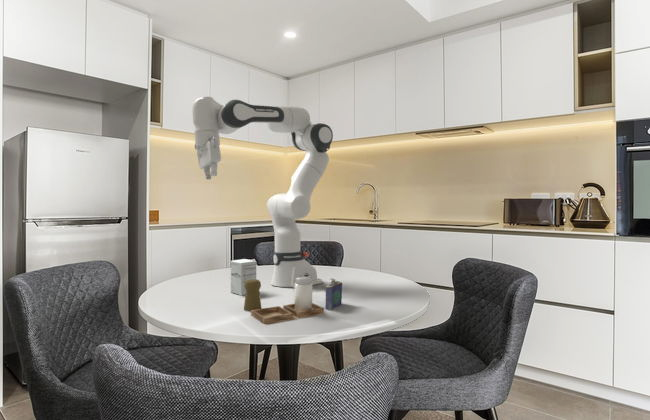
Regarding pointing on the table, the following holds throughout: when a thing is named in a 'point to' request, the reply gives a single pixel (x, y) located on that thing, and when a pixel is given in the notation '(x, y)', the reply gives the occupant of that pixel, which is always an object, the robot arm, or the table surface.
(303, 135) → the robot arm
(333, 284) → the flask
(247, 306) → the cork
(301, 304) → the salt shaker
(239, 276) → the supplement box
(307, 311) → the caddy
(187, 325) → the table surface
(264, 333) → the table surface
